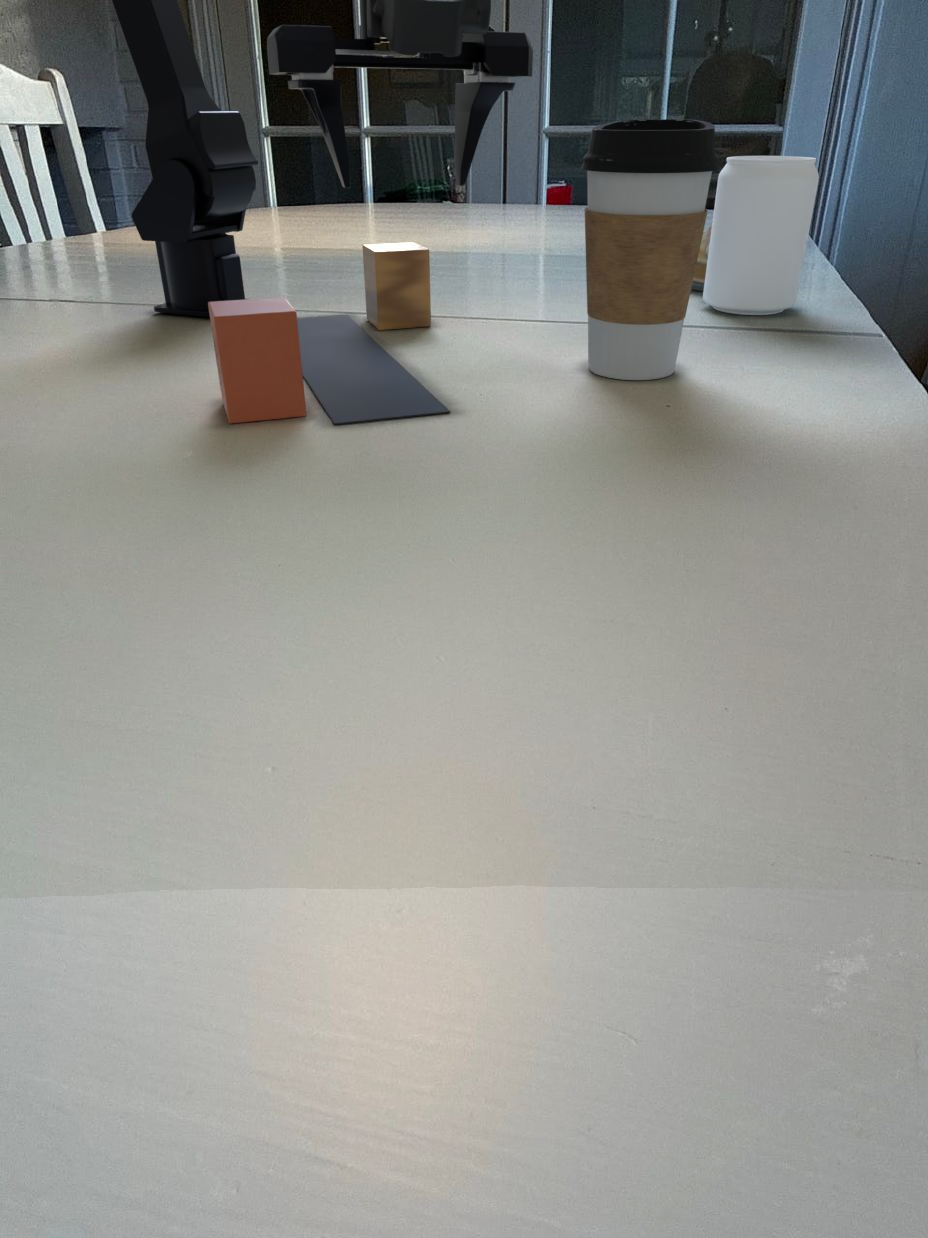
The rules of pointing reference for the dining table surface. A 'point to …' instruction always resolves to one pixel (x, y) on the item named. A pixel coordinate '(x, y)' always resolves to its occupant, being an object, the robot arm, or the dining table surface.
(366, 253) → the wood block
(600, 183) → the coffee cup
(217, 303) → the terracotta block
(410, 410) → the line strip
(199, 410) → the dining table surface
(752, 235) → the beverage can
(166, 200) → the robot arm
